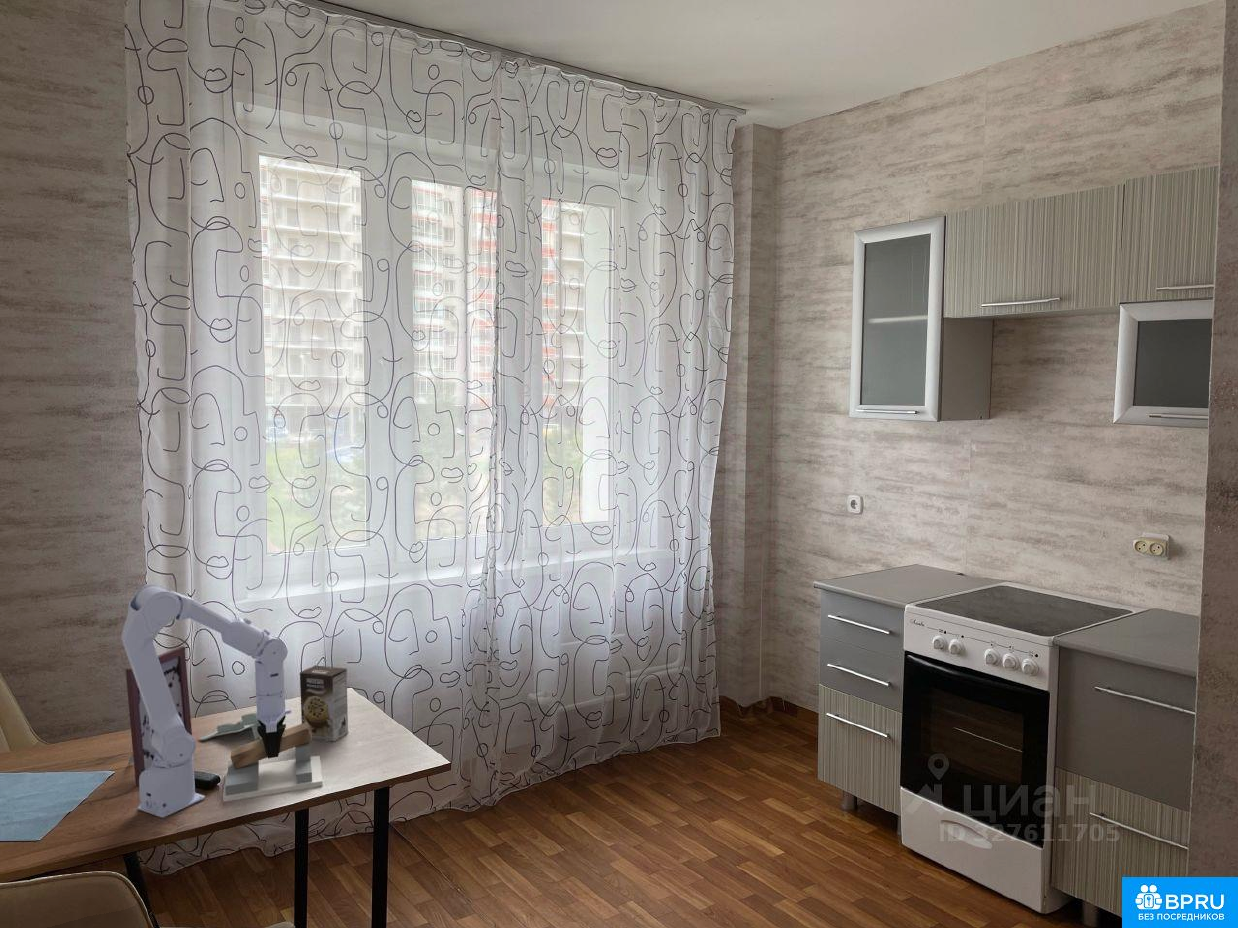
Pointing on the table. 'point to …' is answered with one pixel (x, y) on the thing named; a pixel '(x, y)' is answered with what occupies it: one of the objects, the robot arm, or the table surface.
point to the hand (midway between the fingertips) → (273, 752)
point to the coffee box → (324, 701)
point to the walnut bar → (257, 749)
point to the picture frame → (139, 718)
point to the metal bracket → (237, 727)
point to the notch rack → (273, 776)
